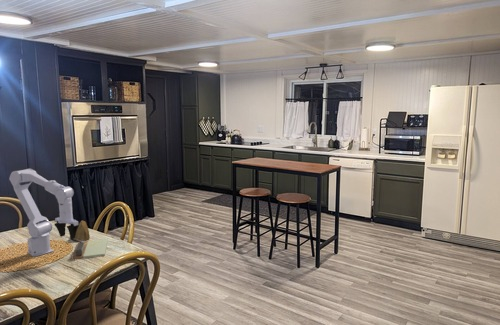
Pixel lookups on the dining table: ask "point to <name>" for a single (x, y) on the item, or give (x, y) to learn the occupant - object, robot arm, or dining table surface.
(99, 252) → the door board
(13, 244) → the dining table surface
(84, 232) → the rock
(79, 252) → the latch bar
